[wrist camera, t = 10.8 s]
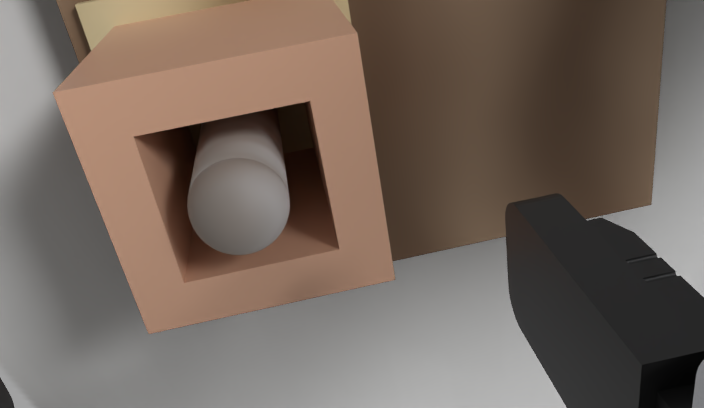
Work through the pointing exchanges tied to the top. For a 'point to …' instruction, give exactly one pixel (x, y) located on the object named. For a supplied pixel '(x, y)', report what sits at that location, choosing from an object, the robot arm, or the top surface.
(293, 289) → the sleeve
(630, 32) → the post board
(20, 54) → the top surface
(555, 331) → the robot arm
